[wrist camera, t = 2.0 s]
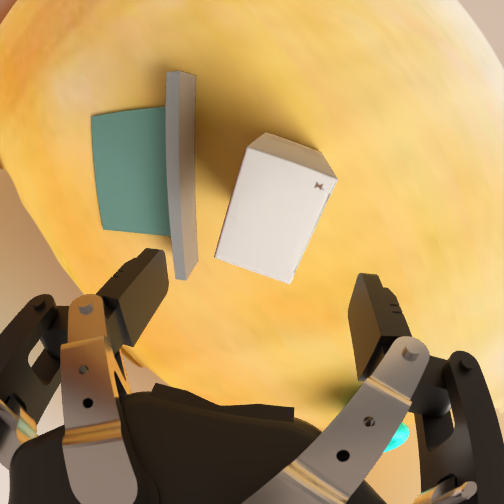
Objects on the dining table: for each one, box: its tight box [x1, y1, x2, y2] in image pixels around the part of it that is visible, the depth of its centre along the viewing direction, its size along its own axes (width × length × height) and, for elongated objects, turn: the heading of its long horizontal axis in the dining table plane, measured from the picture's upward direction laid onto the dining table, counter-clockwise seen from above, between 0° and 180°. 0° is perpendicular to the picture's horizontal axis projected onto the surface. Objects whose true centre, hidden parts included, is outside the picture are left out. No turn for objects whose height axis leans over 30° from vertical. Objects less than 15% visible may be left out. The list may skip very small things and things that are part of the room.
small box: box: [214, 132, 338, 284], centre depth 21 cm, size 8×6×10 cm
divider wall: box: [166, 71, 198, 280], centre depth 25 cm, size 20×1×4 cm, turn 178°
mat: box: [91, 107, 171, 236], centre depth 27 cm, size 14×11×1 cm
